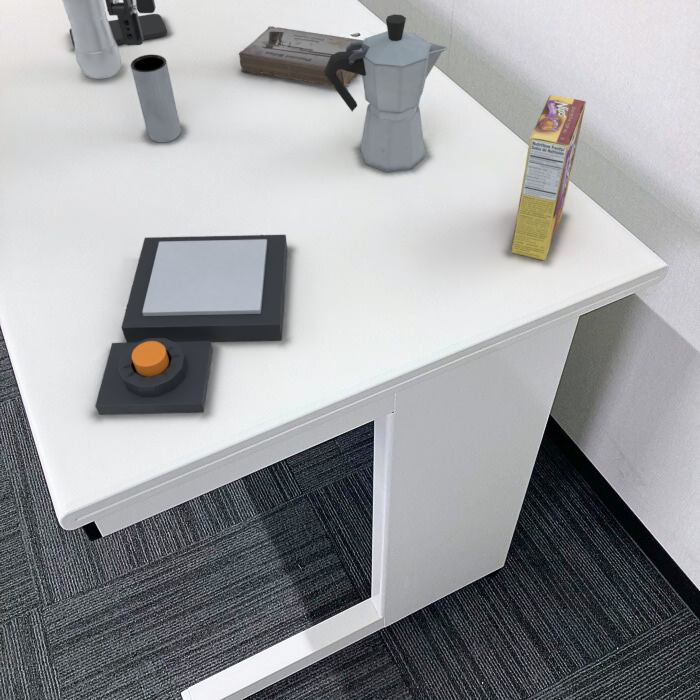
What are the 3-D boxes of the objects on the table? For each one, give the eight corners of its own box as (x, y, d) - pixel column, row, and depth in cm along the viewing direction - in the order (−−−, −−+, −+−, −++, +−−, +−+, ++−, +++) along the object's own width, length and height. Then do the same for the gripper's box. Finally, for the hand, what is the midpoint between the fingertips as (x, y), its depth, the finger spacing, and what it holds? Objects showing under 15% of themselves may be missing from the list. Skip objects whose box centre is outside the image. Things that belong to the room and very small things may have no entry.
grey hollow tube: (169, 121, 104) (153, 50, 96) (187, 134, 102) (173, 62, 94) (141, 133, 102) (123, 62, 94) (159, 146, 100) (142, 75, 92)
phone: (167, 31, 120) (73, 47, 117) (168, 36, 121) (75, 52, 118) (159, 12, 125) (68, 27, 122) (160, 17, 126) (69, 32, 122)
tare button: (132, 377, 70) (128, 366, 69) (138, 351, 72) (134, 341, 71) (166, 376, 70) (163, 366, 69) (171, 351, 72) (168, 340, 71)
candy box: (526, 208, 90) (549, 92, 79) (562, 216, 89) (590, 100, 77) (507, 253, 85) (529, 136, 73) (544, 262, 83) (572, 145, 72)
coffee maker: (430, 129, 102) (440, -4, 88) (447, 166, 96) (460, 29, 82) (323, 141, 100) (316, 8, 87) (333, 180, 94) (328, 43, 81)
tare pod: (98, 414, 70) (90, 395, 68) (115, 351, 76) (107, 331, 73) (203, 412, 70) (198, 393, 68) (213, 349, 76) (208, 329, 73)
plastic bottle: (99, 59, 116) (59, -80, 101) (134, 68, 114) (99, -73, 99) (72, 78, 112) (27, -64, 97) (107, 88, 110) (67, -56, 95)
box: (344, 91, 107) (343, 70, 105) (239, 72, 112) (236, 52, 110) (371, 59, 114) (371, 39, 112) (272, 43, 119) (270, 23, 117)
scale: (126, 344, 76) (119, 323, 74) (149, 253, 86) (143, 233, 83) (281, 340, 76) (279, 320, 74) (287, 251, 86) (285, 230, 83)
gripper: (127, -102, 74) (162, 54, 86) (152, -146, 83) (180, 1, 95) (52, -100, 74) (97, 56, 86) (85, -144, 83) (122, 2, 95)
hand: (141, 27), depth 91 cm, fingers open, 8 cm apart
